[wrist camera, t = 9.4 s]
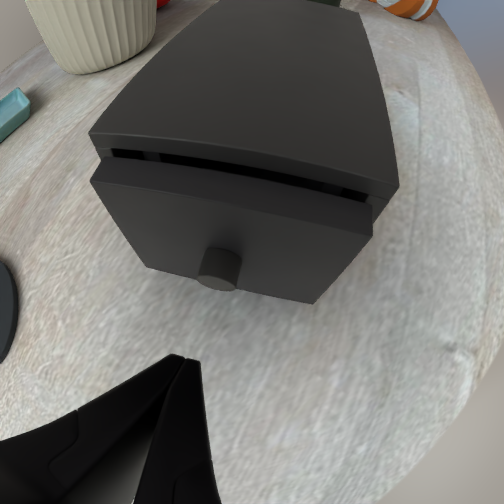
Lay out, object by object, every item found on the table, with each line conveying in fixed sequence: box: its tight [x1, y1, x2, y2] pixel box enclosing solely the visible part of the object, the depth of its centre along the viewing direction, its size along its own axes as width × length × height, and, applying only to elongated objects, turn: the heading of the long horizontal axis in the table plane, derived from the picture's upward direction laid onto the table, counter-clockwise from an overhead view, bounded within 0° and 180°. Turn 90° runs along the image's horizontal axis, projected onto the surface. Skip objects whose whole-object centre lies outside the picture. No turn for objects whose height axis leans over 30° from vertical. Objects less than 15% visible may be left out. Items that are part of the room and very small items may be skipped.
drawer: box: [90, 151, 373, 304], centre depth 16 cm, size 20×9×8 cm, turn 168°
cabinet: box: [88, 0, 399, 223], centre depth 17 cm, size 20×11×10 cm, turn 168°
